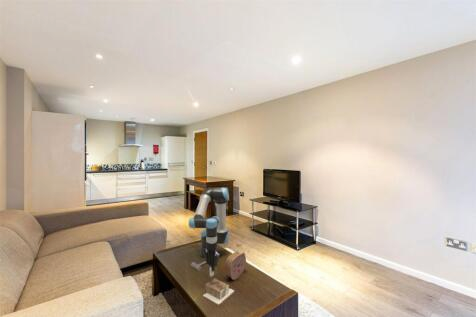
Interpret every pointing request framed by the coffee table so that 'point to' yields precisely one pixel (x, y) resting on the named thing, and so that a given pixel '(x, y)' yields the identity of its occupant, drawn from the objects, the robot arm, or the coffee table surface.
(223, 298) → the felt mat
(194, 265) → the rubber mallet
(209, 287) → the wooden block
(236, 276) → the face sculpture
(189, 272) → the coffee table surface
